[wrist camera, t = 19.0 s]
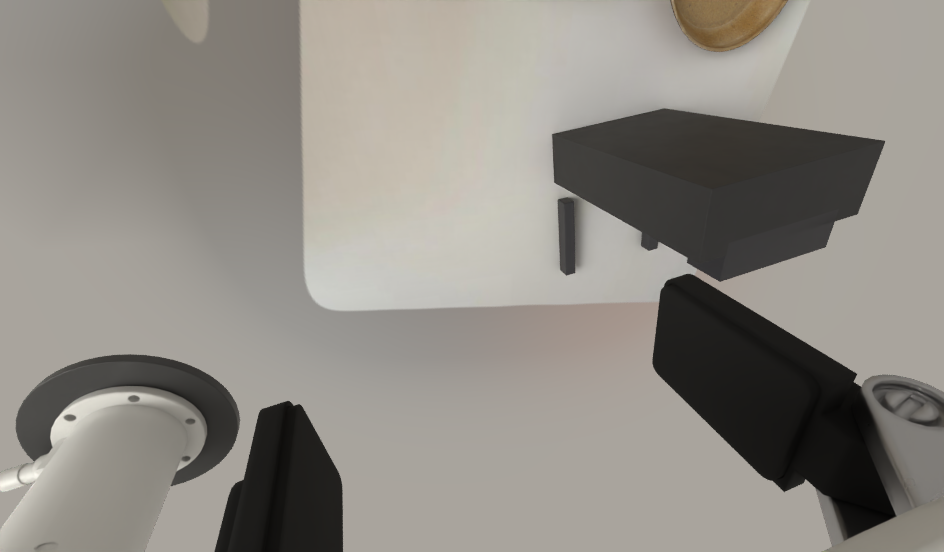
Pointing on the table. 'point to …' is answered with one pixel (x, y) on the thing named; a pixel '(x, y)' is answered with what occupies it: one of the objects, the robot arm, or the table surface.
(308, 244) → the table surface
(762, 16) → the plant saucer
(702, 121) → the black box with legs
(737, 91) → the table surface
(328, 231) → the table surface
